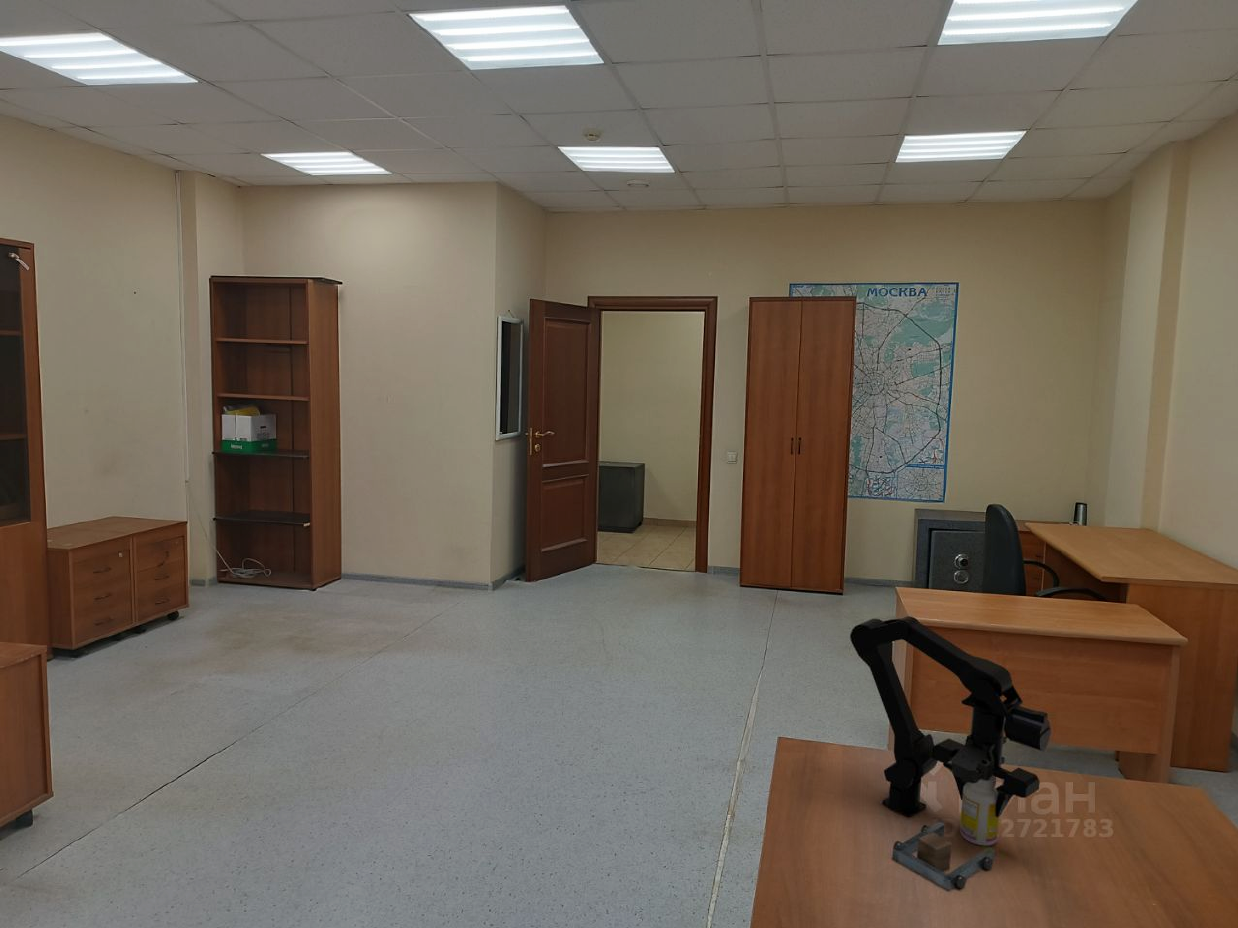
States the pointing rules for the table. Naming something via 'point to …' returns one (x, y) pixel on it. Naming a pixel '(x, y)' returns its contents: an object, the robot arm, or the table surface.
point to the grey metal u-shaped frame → (947, 881)
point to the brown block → (934, 851)
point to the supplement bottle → (980, 812)
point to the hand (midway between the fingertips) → (980, 807)
